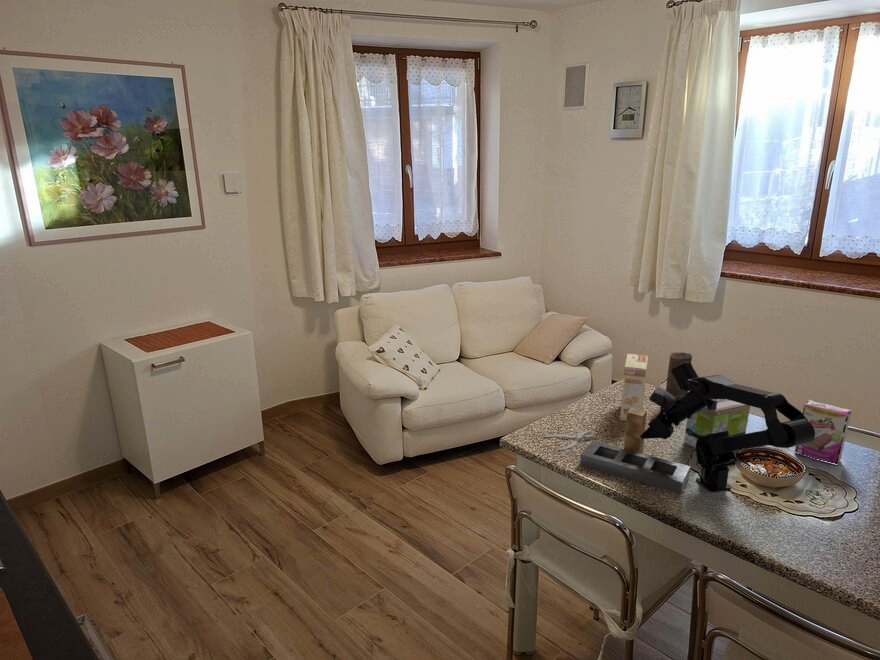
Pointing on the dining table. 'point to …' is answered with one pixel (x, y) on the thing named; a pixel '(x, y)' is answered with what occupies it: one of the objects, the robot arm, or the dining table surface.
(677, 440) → the dining table surface
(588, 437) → the pliers
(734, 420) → the tea box
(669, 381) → the candle
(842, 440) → the candy bar box
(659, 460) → the grey long block
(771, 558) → the dining table surface
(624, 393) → the coffeecake box
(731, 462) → the robot arm
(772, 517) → the dining table surface
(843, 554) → the dining table surface
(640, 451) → the peg
